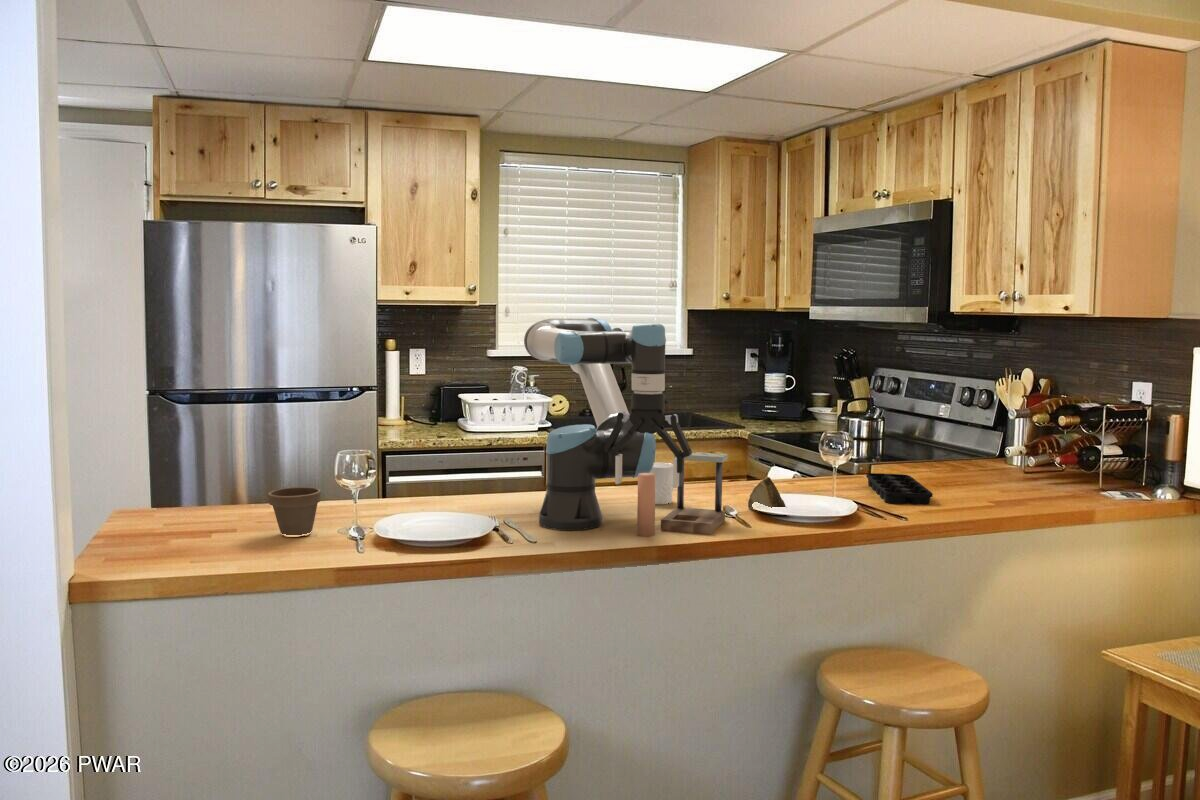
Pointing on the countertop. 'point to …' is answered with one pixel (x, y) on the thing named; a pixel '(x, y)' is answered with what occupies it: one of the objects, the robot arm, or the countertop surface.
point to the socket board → (693, 520)
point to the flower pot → (295, 508)
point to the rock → (766, 495)
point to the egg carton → (899, 489)
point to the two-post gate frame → (718, 483)
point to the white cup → (663, 482)
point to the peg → (646, 505)
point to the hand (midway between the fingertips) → (647, 485)
